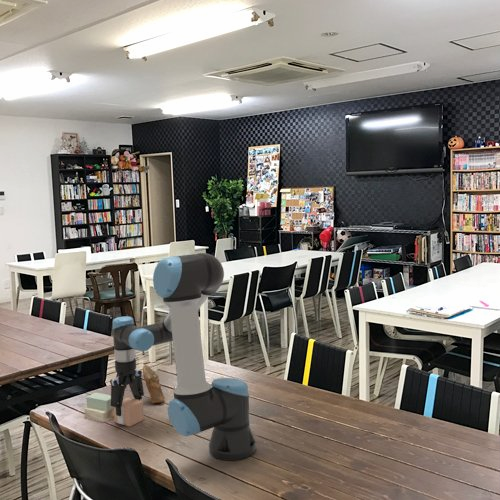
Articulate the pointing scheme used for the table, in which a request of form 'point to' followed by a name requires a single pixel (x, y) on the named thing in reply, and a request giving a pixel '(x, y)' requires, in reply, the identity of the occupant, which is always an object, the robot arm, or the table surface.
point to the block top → (99, 401)
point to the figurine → (153, 384)
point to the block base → (98, 414)
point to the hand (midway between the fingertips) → (129, 419)
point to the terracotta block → (131, 411)
